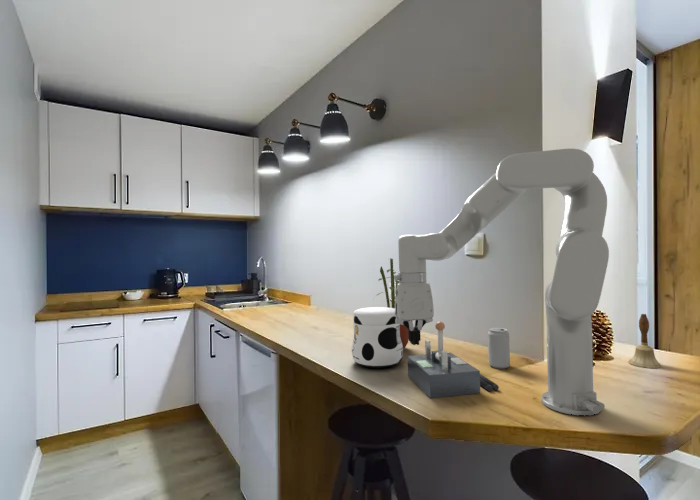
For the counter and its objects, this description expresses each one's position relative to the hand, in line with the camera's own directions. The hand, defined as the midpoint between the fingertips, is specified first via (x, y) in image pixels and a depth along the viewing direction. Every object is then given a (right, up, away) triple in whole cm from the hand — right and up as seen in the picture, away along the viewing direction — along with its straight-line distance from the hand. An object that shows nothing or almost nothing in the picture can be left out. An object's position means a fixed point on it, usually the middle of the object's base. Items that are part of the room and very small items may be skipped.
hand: (414, 343), depth 108 cm
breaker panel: (+8, -12, +1) cm, 14 cm away
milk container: (-9, -12, +22) cm, 27 cm away
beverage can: (+30, -11, +15) cm, 35 cm away
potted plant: (-2, -12, +41) cm, 43 cm away
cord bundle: (+20, -12, +4) cm, 23 cm away
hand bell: (+75, -10, +13) cm, 77 cm away
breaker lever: (+8, -4, +1) cm, 9 cm away
